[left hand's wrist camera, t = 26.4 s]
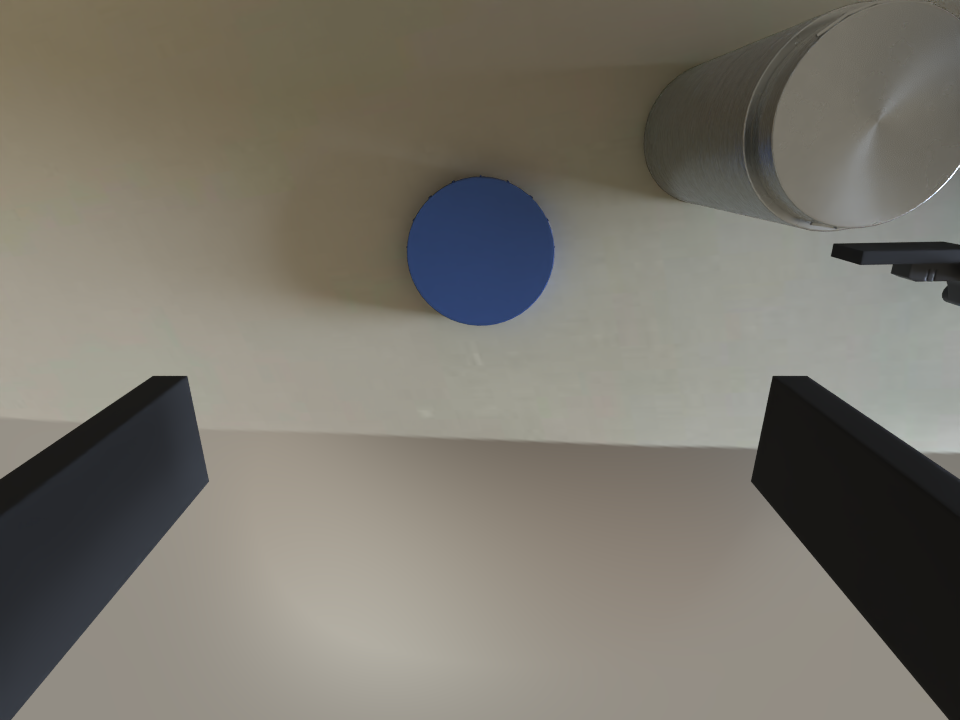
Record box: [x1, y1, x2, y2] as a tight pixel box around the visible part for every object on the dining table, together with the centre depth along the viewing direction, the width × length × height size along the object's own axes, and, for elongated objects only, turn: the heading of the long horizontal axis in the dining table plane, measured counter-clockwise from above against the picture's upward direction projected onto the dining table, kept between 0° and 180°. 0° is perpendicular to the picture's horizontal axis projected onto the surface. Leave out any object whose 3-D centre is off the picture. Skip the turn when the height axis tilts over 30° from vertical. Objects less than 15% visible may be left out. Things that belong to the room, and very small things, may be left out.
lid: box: [407, 175, 555, 326], centre depth 37 cm, size 10×10×2 cm
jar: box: [644, 0, 960, 232], centre depth 28 cm, size 8×8×16 cm
